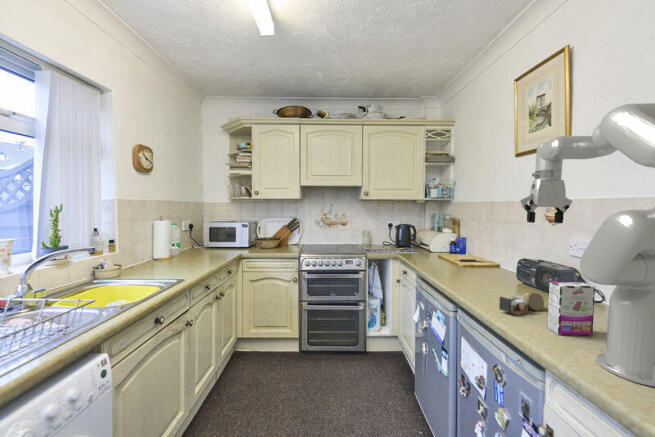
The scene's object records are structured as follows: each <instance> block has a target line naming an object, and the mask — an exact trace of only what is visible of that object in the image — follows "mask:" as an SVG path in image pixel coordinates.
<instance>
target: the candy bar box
mask: <svg viewBox="0 0 655 437" xmlns="http://www.w3.org/2000/svg"><path fill="white" fill-rule="evenodd" d="M548 283H549V286H548V287H549V288H548V309H547V310H548V311H547V329H548V330H549V331H551V332H553V333H554V334H556V335H558V336H576V337H577V336H587V337H588V336H589V337H590V336H593V335H594V313H595V312H594V311H595V297H596V296H595V295H596V294H595V293H596V286H595V285H592V284H589V283H586V282H580V281H579V282H578V281H577V282H575V281H574V282H573V281H572V282H571V281H569V282H567V281H566V282H565V281H562V282H559V281H550V282H548Z"/></svg>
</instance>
